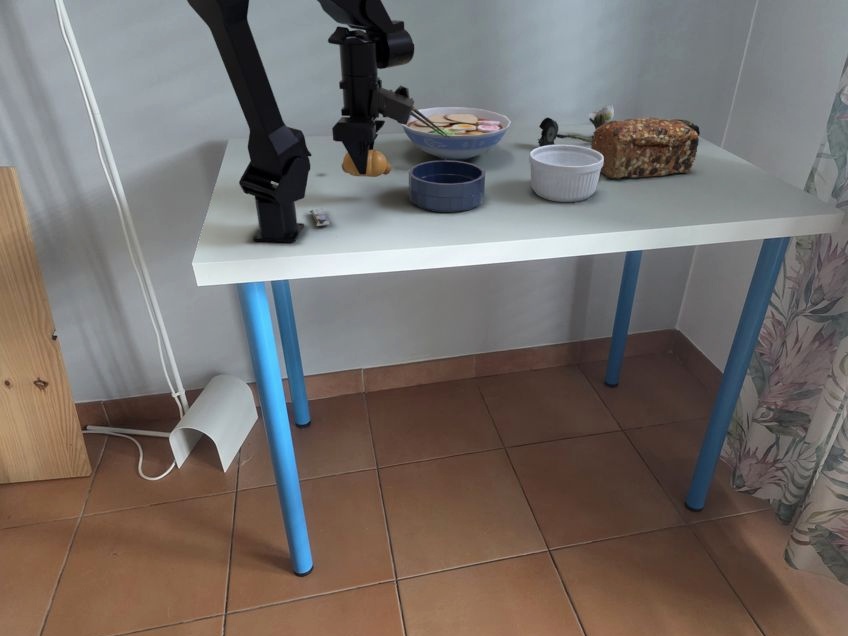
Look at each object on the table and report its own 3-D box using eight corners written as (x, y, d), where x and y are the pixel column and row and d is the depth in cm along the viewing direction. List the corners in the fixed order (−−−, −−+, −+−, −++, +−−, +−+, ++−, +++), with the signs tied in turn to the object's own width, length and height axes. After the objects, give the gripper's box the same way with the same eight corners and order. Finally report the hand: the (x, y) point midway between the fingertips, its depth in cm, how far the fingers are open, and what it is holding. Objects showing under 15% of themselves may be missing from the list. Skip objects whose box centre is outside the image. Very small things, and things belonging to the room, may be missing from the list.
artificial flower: (530, 149, 151) (531, 102, 148) (610, 151, 161) (613, 107, 158) (551, 149, 143) (553, 99, 141) (635, 151, 153) (638, 104, 150)
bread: (611, 182, 130) (619, 129, 124) (586, 165, 138) (593, 115, 133) (694, 174, 135) (705, 123, 129) (665, 159, 143) (674, 110, 138)
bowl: (483, 214, 114) (484, 186, 111) (405, 211, 114) (404, 183, 111) (484, 188, 125) (485, 161, 122) (413, 185, 125) (413, 159, 122)
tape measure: (670, 143, 153) (674, 126, 151) (657, 135, 159) (660, 119, 157) (698, 142, 155) (701, 125, 153) (683, 134, 160) (687, 118, 158)
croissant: (388, 181, 114) (387, 155, 111) (338, 179, 114) (336, 153, 112) (392, 172, 118) (391, 147, 115) (343, 170, 118) (341, 145, 115)
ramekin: (542, 207, 117) (545, 168, 113) (516, 183, 128) (519, 146, 124) (611, 202, 120) (616, 163, 117) (580, 178, 131) (584, 142, 127)
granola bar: (309, 213, 112) (308, 207, 111) (323, 212, 113) (322, 206, 112) (316, 228, 107) (316, 222, 106) (331, 226, 107) (330, 220, 107)
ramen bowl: (529, 168, 135) (533, 127, 131) (421, 180, 128) (421, 136, 123) (481, 136, 155) (483, 99, 150) (385, 144, 147) (384, 105, 143)
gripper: (403, 87, 99) (405, 190, 107) (416, 64, 114) (417, 155, 123) (327, 84, 99) (336, 187, 107) (350, 61, 115) (356, 153, 123)
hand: (365, 169), depth 115 cm, fingers closed on croissant, 4 cm apart
